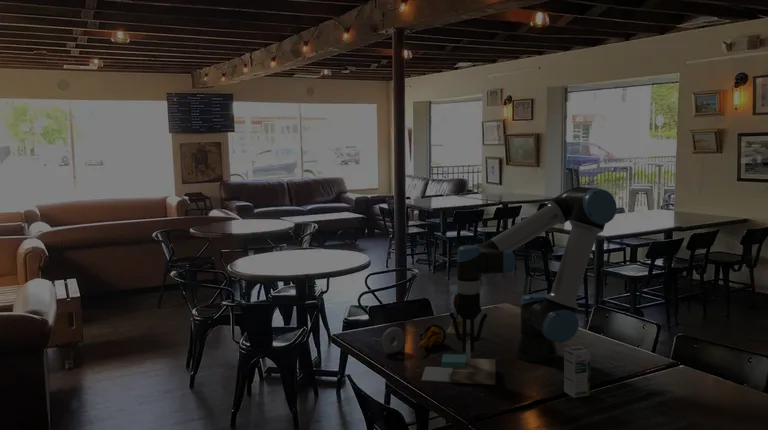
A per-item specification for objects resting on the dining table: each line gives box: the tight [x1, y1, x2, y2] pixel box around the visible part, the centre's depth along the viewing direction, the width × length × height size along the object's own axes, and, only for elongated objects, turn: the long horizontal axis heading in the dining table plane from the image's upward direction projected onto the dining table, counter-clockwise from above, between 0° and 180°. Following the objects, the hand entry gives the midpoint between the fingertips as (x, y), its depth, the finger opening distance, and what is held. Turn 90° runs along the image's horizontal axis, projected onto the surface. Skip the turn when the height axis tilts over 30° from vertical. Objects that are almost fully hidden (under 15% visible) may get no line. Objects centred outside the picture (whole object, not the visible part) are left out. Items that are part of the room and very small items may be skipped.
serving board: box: [451, 358, 496, 385], centre depth 213 cm, size 14×13×4 cm
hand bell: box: [446, 294, 467, 336], centre depth 265 cm, size 8×8×16 cm
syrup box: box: [563, 345, 591, 399], centre depth 196 cm, size 6×6×14 cm
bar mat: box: [421, 366, 453, 383], centre depth 216 cm, size 10×13×1 cm
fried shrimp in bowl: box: [417, 323, 447, 351], centre depth 243 cm, size 9×11×18 cm
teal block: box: [440, 353, 466, 368], centre depth 214 cm, size 8×8×2 cm
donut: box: [381, 326, 405, 354], centre depth 239 cm, size 10×3×10 cm, turn 125°
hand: (468, 360), depth 213 cm, fingers closed
